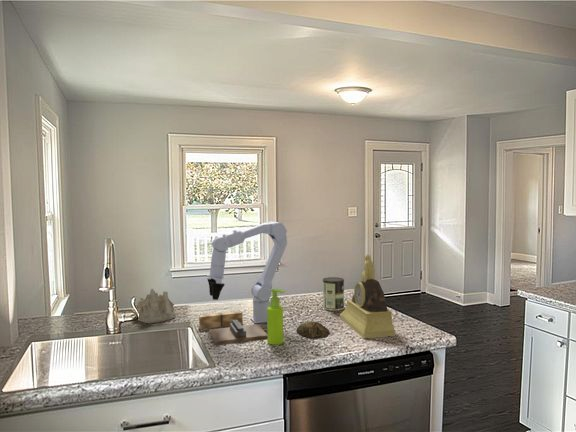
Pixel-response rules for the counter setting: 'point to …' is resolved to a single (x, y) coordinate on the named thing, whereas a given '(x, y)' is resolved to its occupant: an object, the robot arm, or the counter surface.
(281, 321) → the soap dispenser
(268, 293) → the robot arm
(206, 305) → the counter surface
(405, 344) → the counter surface
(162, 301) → the sand castle
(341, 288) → the coffee can
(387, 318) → the decorative clock
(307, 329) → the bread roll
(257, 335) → the board
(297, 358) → the counter surface
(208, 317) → the oak beam
